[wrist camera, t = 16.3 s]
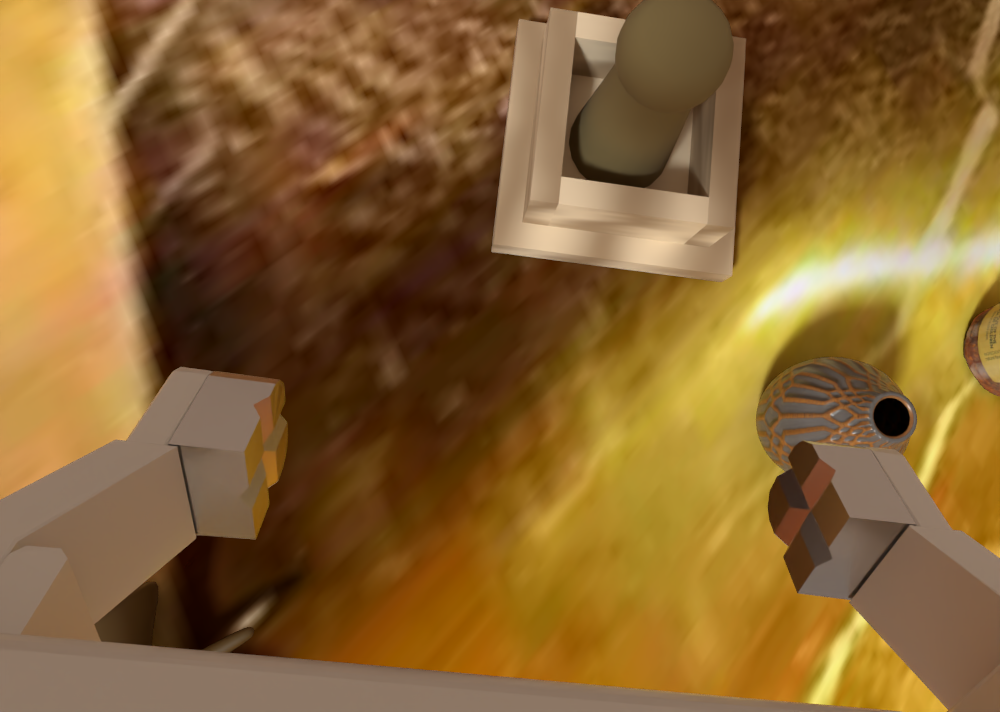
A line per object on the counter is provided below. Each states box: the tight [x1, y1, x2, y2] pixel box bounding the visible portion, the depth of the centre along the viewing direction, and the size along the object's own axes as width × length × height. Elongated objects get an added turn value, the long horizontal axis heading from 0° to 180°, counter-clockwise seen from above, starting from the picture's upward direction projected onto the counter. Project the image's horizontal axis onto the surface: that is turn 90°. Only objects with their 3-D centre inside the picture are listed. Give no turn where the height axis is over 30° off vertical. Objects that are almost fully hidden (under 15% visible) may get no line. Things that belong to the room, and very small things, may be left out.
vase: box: [756, 357, 917, 472], centre depth 35 cm, size 7×7×9 cm
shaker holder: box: [491, 8, 746, 282], centre depth 38 cm, size 14×14×5 cm
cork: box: [569, 0, 734, 188], centre depth 34 cm, size 6×6×11 cm
